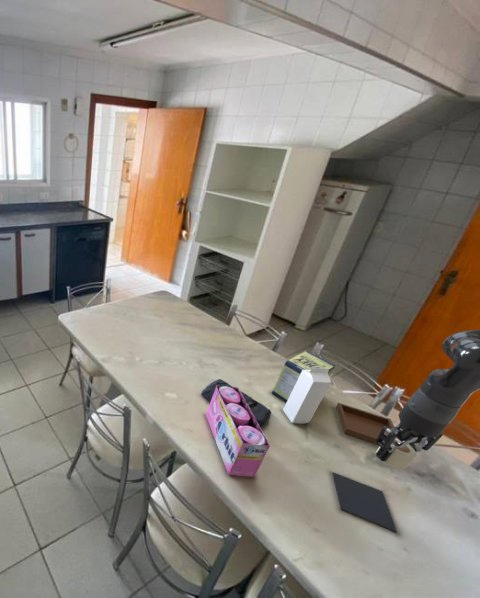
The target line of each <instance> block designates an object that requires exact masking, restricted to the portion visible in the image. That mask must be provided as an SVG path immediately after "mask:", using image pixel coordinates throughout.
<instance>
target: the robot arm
mask: <svg viewBox="0 0 480 598" xmlns="http://www.w3.org/2000/svg"><path fill="white" fill-rule="evenodd" d="M441 348H442V351H443V352H444V354H445V355H446V356H447V358H448V359H450V360H451V361H452V362H453V365H452V366H451V367H450V368H449V369H447V368H435V369H433V370H432V371H431V372H430V373H429V374H428V375H427V377H426V378H425V379H424V381H423V382H422V384H421V385H420V386H419V387H418V389H416V390H415V391H414V392H413V393H412V395H410V397H409V399H408V400H407V402H405V404H404V406H403V407H402V408H401V409H400V411H399V413H398V418H399V423H398V424H396V426H394V427H395V428H393V429H390V428H389V427H388V426H384V427H383V428H382V430H381V432H380V434H379V436H378V437H377V439H376V441H375V442H376V443H377V444H378V445H377V444H376V445H377V446H378V447H380V449H379V450H378V451H377V450H376V451H377V453H376V452H375V457H377V458H378V459H379V461H381V462H382V461H386V460H387V459H388V458H389V457H390V455H391V454H392V453H393V451H395V450H396V449H398V448H403V447H405V446H406V445H408V444H409V445H410V446H411V447H412V448H413V449H414V450H415V451H416V453H420V452H422V450H423V451H426V452H427V451H428V450H430V449H431V448H432V447H433V446H434V445H435V444H436V443H437V442H438V441H439V440H440V439H441V438H442V437H443V436H444V434H443V432H444V431H445V430H446V429H447V427H448V426H449V425H450V424H451V423H452V421H453V420H454V419H455V418H456V417H457V415H458V413H459V412H460V410H461V408H462V407H463V406H464V405H465V403H466V402H467V401H468V399H469V398H470V397H471V396H472V394H473V393H476V392H477V391H479V390H480V329H469V330H468V329H467V330H462V331H458V332H455V333H452V334H450V335H449V336H446V338H445V339H444V340H443V341H442V343H441ZM396 438H397V439H399V440H400V441H401V443H399V442H398V441H397V440H396ZM392 442H393V443H394V445H393V446H392V447H391V444H392Z"/></svg>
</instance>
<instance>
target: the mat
mask: <svg viewBox="0 0 480 598" xmlns="http://www.w3.org/2000/svg"><path fill="white" fill-rule="evenodd" d="M331 474H332V477H333V482H334V486H335V490H336V494H337V495H336V496H337V498H338V503H339V507H340V510H341V511H343V512H346V513H348V514H351V515H353V516H355V517H358V518H360V519H363V520H365V521H368V522H369V523H372V524H374V525H377V526H379V527H382V528H384V529H387V530H388V531H389V530H390V531H391V532H394V533H397V532H398V530H397V527H396V524H395V523H394V520H393V517H392V514H391V512H390V509H389V505H388V502H387V500H386V497H385V495H384V493H383V491H382V490H380V489H378V488H375V487H372V486H370V485H367V484H365V483H362V482H360V481H357V480H354V479H352V478H349V477H346V476H343V475H341V474H339V473H336V472H332V473H331Z"/></svg>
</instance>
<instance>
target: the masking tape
mask: <svg viewBox="0 0 480 598" xmlns="http://www.w3.org/2000/svg"><path fill="white" fill-rule="evenodd" d="M396 440H397V441H398V442H399V443H401V441H400V440H399V439H397V438H396ZM393 445H394V443H393V442H392V444H391V447H392V446H393ZM379 449H380V446H378V448H377V449H376V451H375V454H376V453H377V451H378V450H379ZM416 457H417V452H416V451H415V450H414V449H413V448H412V447H411V446H410V445H409V444H408V445H406V446H405V447H403V448H398V449H396V450H395V451H393V453H392V454H391V455H390V457H389V458H388V459H387V460H386V461H381V462H382V463H383V464H385V465H386V466H388V467H390V468H391V469H394V470H396V471H404V470H406V469H407V467H408V466H409V465H410V464H411V463H412V462H413V460H414V459H415V458H416Z"/></svg>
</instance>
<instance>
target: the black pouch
mask: <svg viewBox="0 0 480 598" xmlns="http://www.w3.org/2000/svg"><path fill="white" fill-rule="evenodd" d="M218 385H219V388H220V387H225V386H226V387H230V388H233V387H234V386H232V385H230V384H229V383H228V382H226V381H225V380H223V379H221V378H218V379H216V380H214V381H212V382H210V383H209V384H208V385H206V387H205V388H204V389H202V391H201V393H200V395H201V397H203V399H205V400H206V401H207V402H208V403H210V402H211V400H212V397H213V394H214V392H215V389H216V386H218ZM240 392H241V394H242V395H243V397H244V399H245V401H246V403H247V405H248V406H249V408H250V410H251V412H252V414H253V415H254V417H255V419H256V421H257V423H258V424H259V426H260V427H263V426H264V425H266V423H267V422H268V421H269V420H270V417H271V415H272V411H271V410H270V408H268V407H267V406H266V405H264V404H262V403H261V402H259V401H257V400H255V399H254V398H252V397H251V396H249V395H248V394H246V393H245V392H243V391H242V390H240Z"/></svg>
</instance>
